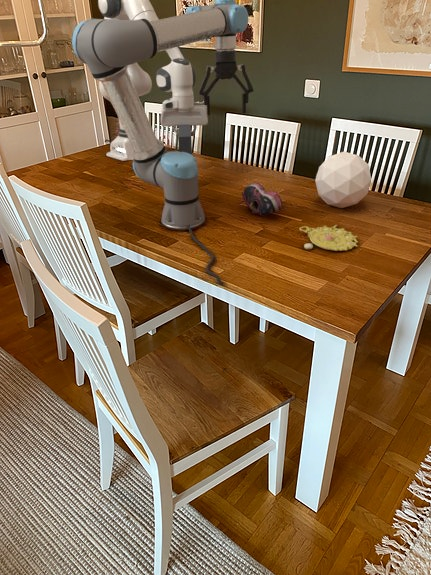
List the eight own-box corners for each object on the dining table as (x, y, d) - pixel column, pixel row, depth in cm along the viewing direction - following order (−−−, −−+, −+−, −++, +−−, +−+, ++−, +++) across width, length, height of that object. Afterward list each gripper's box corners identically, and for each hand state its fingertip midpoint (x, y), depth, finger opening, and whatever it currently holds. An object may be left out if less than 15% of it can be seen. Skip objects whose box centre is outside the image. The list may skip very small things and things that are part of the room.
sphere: (346, 226, 165) (361, 198, 146) (301, 199, 169) (309, 168, 151) (372, 190, 170) (389, 158, 151) (327, 165, 174) (338, 131, 156)
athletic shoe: (254, 181, 170) (227, 189, 167) (283, 176, 151) (253, 185, 147) (260, 210, 173) (234, 218, 170) (290, 209, 154) (261, 219, 150)
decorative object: (343, 255, 128) (285, 234, 139) (342, 262, 130) (284, 241, 140) (372, 230, 142) (317, 213, 152) (371, 237, 143) (316, 219, 153)
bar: (192, 156, 177) (191, 136, 173) (179, 156, 177) (178, 136, 172) (191, 140, 197) (190, 122, 193) (179, 141, 197) (178, 122, 192)
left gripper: (207, 100, 188) (208, 133, 196) (159, 101, 187) (162, 135, 195) (208, 103, 183) (209, 137, 191) (158, 104, 182) (161, 138, 190)
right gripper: (257, 47, 160) (256, 109, 172) (189, 50, 157) (192, 113, 169) (262, 49, 154) (260, 113, 166) (191, 52, 151) (194, 117, 163)
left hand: (185, 136), depth 193 cm, fingers closed on bar, 5 cm apart
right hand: (226, 113), depth 167 cm, fingers open, 13 cm apart
